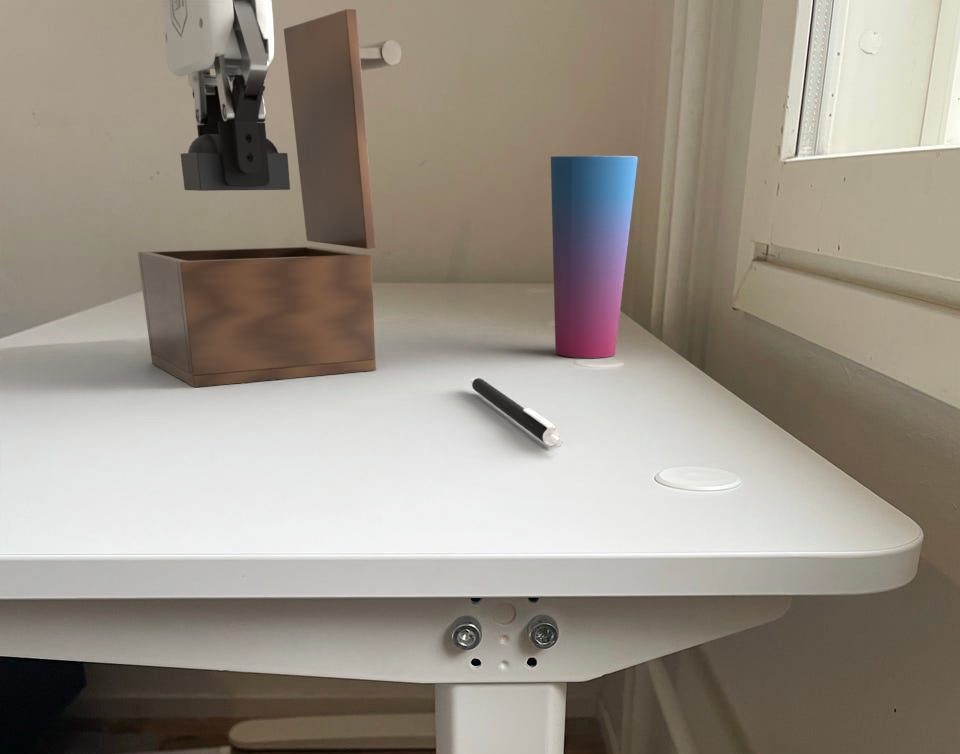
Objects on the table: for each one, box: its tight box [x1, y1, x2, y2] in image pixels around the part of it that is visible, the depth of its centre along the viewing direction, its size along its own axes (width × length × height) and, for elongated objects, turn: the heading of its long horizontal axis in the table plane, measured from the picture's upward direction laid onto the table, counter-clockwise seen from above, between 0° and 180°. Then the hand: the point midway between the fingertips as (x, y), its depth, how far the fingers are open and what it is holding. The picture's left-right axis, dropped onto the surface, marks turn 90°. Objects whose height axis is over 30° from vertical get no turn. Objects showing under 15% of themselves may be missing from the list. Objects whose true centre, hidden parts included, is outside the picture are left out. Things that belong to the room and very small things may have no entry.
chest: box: [137, 246, 377, 388], centre depth 78 cm, size 14×12×8 cm
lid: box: [283, 8, 403, 250], centre depth 77 cm, size 15×12×5 cm
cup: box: [550, 155, 639, 359], centre depth 83 cm, size 7×7×15 cm
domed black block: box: [180, 134, 291, 192], centre depth 73 cm, size 7×4×4 cm, turn 121°
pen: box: [470, 377, 563, 448], centre depth 63 cm, size 1×19×1 cm, turn 14°
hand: (235, 182), depth 74 cm, fingers closed on domed black block, 4 cm apart
